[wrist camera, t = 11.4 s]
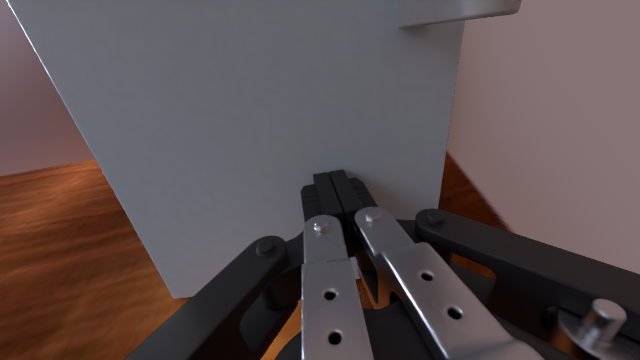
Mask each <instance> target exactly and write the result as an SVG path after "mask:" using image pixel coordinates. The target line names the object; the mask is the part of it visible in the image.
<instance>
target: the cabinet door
mask: <svg viewBox="0 0 640 360" xmlns="http://www.w3.org/2000/svg"><path fill="white" fill-rule="evenodd" d="M7 1H8V3H9V5H10V7H11V9H12V10H13V12H14V14H15V16H16V18H17V19H18V21H19V23H20V25H21V27H22V28H23V30H24V32H25V34H26V36H27V37H28V39H29V41H30V43H31V45H32V46H33V48H34V50H35V51H36V53H37V55H38V57H39V59H40V61H41V62H42V64H43V66H44V67H45V70H46V71H47V73H48V75H49V76H50V78H51V80H52V82H53V83H54V86H55V87H56V89H57V91H58V92H59V94H60V96H61V98H62V100H63V102H64V103H65V105H66V107H67V109H68V111H69V112H70V114H71V116H72V118H73V120H74V121H75V123H76V125H77V127H78V128H79V130H80V132H81V134H82V136H83V137H84V139H85V141H86V143H87V145H88V146H89V148H90V150H91V152H92V154H93V155H94V157H95V159H96V161H97V162H98V164H99V166H100V168H101V170H102V171H103V173H104V175H105V177H106V179H107V180H108V182H109V184H110V186H111V187H112V189H113V191H114V193H115V195H116V196H117V198H118V200H119V202H120V204H121V205H122V207H123V209H124V211H125V212H126V214H127V216H128V218H129V220H130V221H131V223H132V225H133V227H134V229H135V230H136V232H137V234H138V236H139V237H140V239H141V241H142V243H143V245H144V246H145V248H146V250H147V252H148V254H149V255H150V257H151V259H152V261H153V262H154V264H155V266H156V268H157V270H158V271H159V273H160V275H161V277H162V279H163V280H164V282H165V284H166V286H167V288H168V289H169V291H170V293H171V295H172V296H173V298H174V299H177V298H187V297H193V296H194V295H195V294H196V293H197V292H198V291H200V290H201V289H202V288H203V287H204V286H205V285H206V284H207V283H208V282H209V281H211V280H212V279H213V278H214V277H215V276H216V275H217V274H218V273H219V272H220V271H222V270H223V269H224V268H225V267H226V266H227V265H228V264H229V263H230V262H231V261H232V260H234V259H235V258H236V257H237V256H238V255H239V254H240V253H241V252H242V251H243V250H245V249H246V248H247V247H248V246H249V245H250V244H251V243H252V242H254V241H255V240H257V239H259V238H261V237H265V236H279V237H281V238H282V239H284V240H285V242H286V241H288V240H290V239H293V238H295V237H296V236H298V235H299V234H300V233H301V232H302V231H303V229H304V224H305V221H304V214H303V207H302V200H301V193H300V191H301V190H302V188H303V186H305V185H311V184H314V181H313V174H317V173H324V172H330V171H336V170H344V171H345V173H346V175H347V177H348V178H354V177H356V178H358V179H359V180H361V181H363V183H364V184H365V186H366V188H367V189H368V191H369V193H370V194H371V196H372V197H373V199H374V200H375V202H376V204H377V205H378V207H380V208H383V209H385V210H387V211H388V212H389V213H390V214H391V215H392V216H393V217H394V218H395V219H401V220H415V216H416V214H417V213H418V212H419V211H421V210H424V209H438V204H439V197H440V190H441V183H442V176H443V169H444V162H445V155H446V148H447V141H448V135H449V127H450V121H451V113H452V106H453V99H454V93H455V86H456V78H457V71H458V65H459V57H460V51H461V44H462V36H463V30H464V22H465V20H469V19H478V18H487V17H495V16H503V15H511V14H514V13H517V12H518V10H519V9H520V5H521V0H7ZM350 259H351V263H352V267H353V271H354V276H355V279H360V277H359V274H358V271H357V261H356V258H355V257H352V258H350Z"/></svg>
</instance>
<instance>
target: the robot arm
mask: <svg viewBox="0 0 640 360" xmlns="http://www.w3.org/2000/svg"><path fill="white" fill-rule="evenodd" d="M313 181H314V184H311V185H305V186H303V188H302V190H301V191H300V193H301V200H302V207H303V214H304V221H305V224H304V229H303V231H302V232H301V233H300V234H299V235H298V236H296V237H295V238H293V239H290V240H288V241H286V242H285V240H284V239H282V238H281V237H279V236H265V237H261V238H259V239H257V240H255V241H254V242H252V243H251V244H250V245H249V246H248V247H247V248H246V249H245V250H243V251H242V252H241V253H240V254H239V255H238V256H237V257H236V258H235V259H234V260H232V261H231V262H230V263H229V264H228V265H227V266H226V267H225V268H224V269H223V270H222V271H220V272H219V273H218V274H217V275H216V276H215V277H214V278H213V279H212V280H211V281H209V282H208V283H207V284H206V285H205V286H204V287H203V288H202V289H201V290H200V291H198V292H197V293H196V294H195V295H194V296H193V297H192V298H191V299H190V300H189V301H187V302H186V303H185V304H184V305H183V306H182V307H181V308H180V309H179V310H178V311H177V312H175V313H174V314H173V315H172V316H171V317H170V318H169V319H168V320H167V321H166V322H164V323H163V324H162V325H161V326H160V327H159V328H158V329H157V330H156V331H155V332H153V333H152V334H151V335H150V336H149V337H148V338H147V339H146V340H145V341H144V342H143V343H141V344H140V345H139V346H138V347H137V348H136V349H135V350H134V351H133V352H132V353H130V354H129V355H128V356H127V357H126V358H125V359H124V360H260V359H261V358H262V356H263V355H264V353H265V352H266V350H267V349H268V348H269V346H270V345H271V343H272V342H273V340H274V339H275V338H276V336H277V335H278V333H279V332H280V330H281V329H282V327H283V326H284V325H285V323H286V322H287V320H288V319H289V317H290V316H291V314H292V313H293V312H294V310H295V308H296V307H297V304H298V300H300V299H302V331H301V332H300V333H298V334H297V335H296V336H295V337H293V338H292V339H291V340H290V341H289V342H288V343H287V344H286V345H285V346H284V347H283V349H282V350H281V351H280V352H279V354H278V355H277V357H276V358H275V360H640V274H637V273H634V272H630V271H628V270H624V269H622V268H618V267H615V266H612V265H609V264H606V263H603V262H600V261H597V260H594V259H591V258H587V257H585V256H582V255H579V254H575V253H572V252H569V251H566V250H563V249H560V248H557V247H554V246H551V245H548V244H545V243H542V242H539V241H536V240H533V239H529V238H527V237H523V236H520V235H517V234H514V233H511V232H508V231H505V230H502V229H499V228H496V227H493V226H490V225H487V224H484V223H481V222H478V221H475V220H472V219H468V218H465V217H462V216H459V215H456V214H453V213H450V212H447V211H444V210H440V209H424V210H421V211H419V212H418V213H417V214H416V216H415V220H401V219H395V218H394V217H393V216H392V215H391V214H390V213H389V212H388V211H387V210H385V209H383V208H380V207H378V205H377V204H376V202H375V200H374V199H373V197H372V196H371V194H370V193H369V191H368V189H367V188H366V186H365V184H364V183H363V181H361V180H359V179H358V178H356V177H354V178H348V177H347V175H346V173H345V171H344V170H336V171H330V172H324V173H317V174H313ZM452 253H455V254H457V255H460V256H462V257H465V258H467V259H469V260H472V261H474V262H476V263H479V264H481V265H484V266H486V267H488V268H489V269H491V270H492V271H493V272H494V273H495V275H496V279H490V278H487V277H485V276H483V275H481V274H478V273H476V272H474V271H472V270H469V269H467V268H465V267H463V266H460V265H458V264H456V263H454V262H451V259H452ZM352 257H355V258H356V261H357V271H358V274H359V277H360V279H361V281H362V283H363V285H364V288H365V290H366V292H367V294H368V297H369V299H370V301H371V303H372V305H373V308H374V309H362V306H361V302H360V297H359V293H358V289H357V284H356V280H355V276H354V271H353V267H352V263H351V259H350V258H352Z"/></svg>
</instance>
